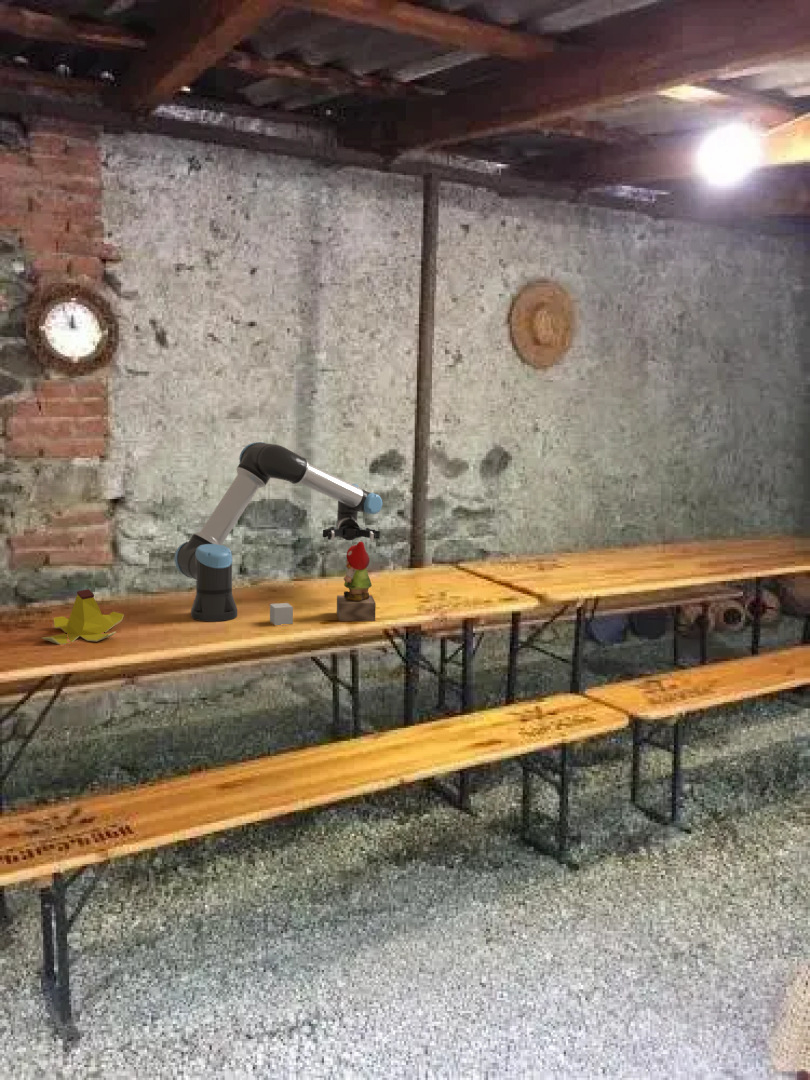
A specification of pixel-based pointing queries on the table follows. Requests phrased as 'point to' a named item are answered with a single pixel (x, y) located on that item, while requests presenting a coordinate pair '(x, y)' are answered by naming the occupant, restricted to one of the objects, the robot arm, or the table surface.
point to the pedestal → (355, 609)
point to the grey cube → (281, 613)
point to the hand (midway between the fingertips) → (353, 537)
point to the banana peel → (85, 621)
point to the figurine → (357, 573)
